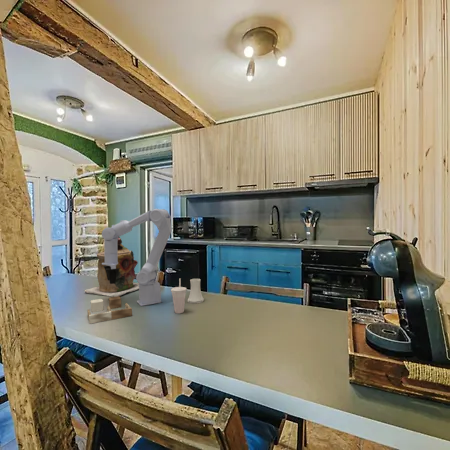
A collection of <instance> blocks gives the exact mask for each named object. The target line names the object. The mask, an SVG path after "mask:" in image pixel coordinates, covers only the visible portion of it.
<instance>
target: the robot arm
mask: <svg viewBox="0 0 450 450" xmlns="http://www.w3.org/2000/svg"><path fill="white" fill-rule="evenodd" d="M171 218H172V216H171V214H170V213H169V211H168V210H166V209H165V208H161V209H160V208H154V209H152V210H148V211H145V212H144V213H141V214H139V215H138V216H136V217H134V218H132V219H130V220H126V219H125V220H124V219H121V220H120V221H119V222H117V223H116V224H112V225H111V227H105V228H103V230H102V231H101V237H102V238H103V239H104V240H103V241H104V244H103V246H104V248H103V249H104V251H103V252H104V257H105V263H102V265H107V266H103V267H104V268H105V271H106V275H107V279H108V281H110V284H115V282H116V277H117V274H118V271H119V268H116V265H117V264H118V246H117V242H118V238H119V237H122V236H124V235H126V234H127V233H131V231H132V230H133V228H134V227H136V226H139V225H141V224H143V223H146V222H152V223H153V225H155V226H156V227H157V230H158V233H157V236H156V238H155V240H154V243H153V245H152V248H151V250H150V252H149V255H148V257H147V259H146V262H145V263H144V264H143V266H142V267H141V269H140V270H139V272H138V273H137V274H136V275H135V279H136V281H137V282H136V283H139V289H138V300H136V302H137V303H138V304H139V306H142V307H143V306H148V305H153V304H160V303H162V293H161V291H162V288H161V283H160V282H158V281H155V280H156V278H157V275H158V274H157V270H158V264H159V262H160V259H161V257H162V255H163V252H164V249H165V247H166V245H167V243H168V240H169V238H170V236H171V233H172V222H171V220H172V219H171Z"/></svg>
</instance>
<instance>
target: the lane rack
mask: <svg viewBox="0 0 450 450" xmlns="http://www.w3.org/2000/svg"><path fill="white" fill-rule="evenodd" d="M124 305H125V306H124V307H125V308H123V309H117V310H112V309H110V307H109V305H108V306H106V311H105V312H104V311H103V312H99V313H95V314H93V313H92V311H91V308H89V309H87V310H86V311H87V319H88V324H90V325H92V324H95V323H97V324H98V323H101V322H107V321H112V320H117V319H122V318H127V317H132V316H133V308H132V307H131V306H130V305H129V304H128V303H127V302H126V303H124Z"/></svg>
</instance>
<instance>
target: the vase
mask: <svg viewBox="0 0 450 450" xmlns="http://www.w3.org/2000/svg"><path fill="white" fill-rule="evenodd" d="M189 281H190V292H189V296H188V298H187V302H188V304H200V303H203V302H204V301H205V300H204V297H203V294H202V291H201V279H200V278H192V279H190V280H189Z"/></svg>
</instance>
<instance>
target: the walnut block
mask: <svg viewBox="0 0 450 450" xmlns="http://www.w3.org/2000/svg"><path fill="white" fill-rule="evenodd" d="M108 306H109V307H110V309H111V310H114V309H118V308H122V298H121V295H120V296H117V297H111V296H109V297H108Z"/></svg>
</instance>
